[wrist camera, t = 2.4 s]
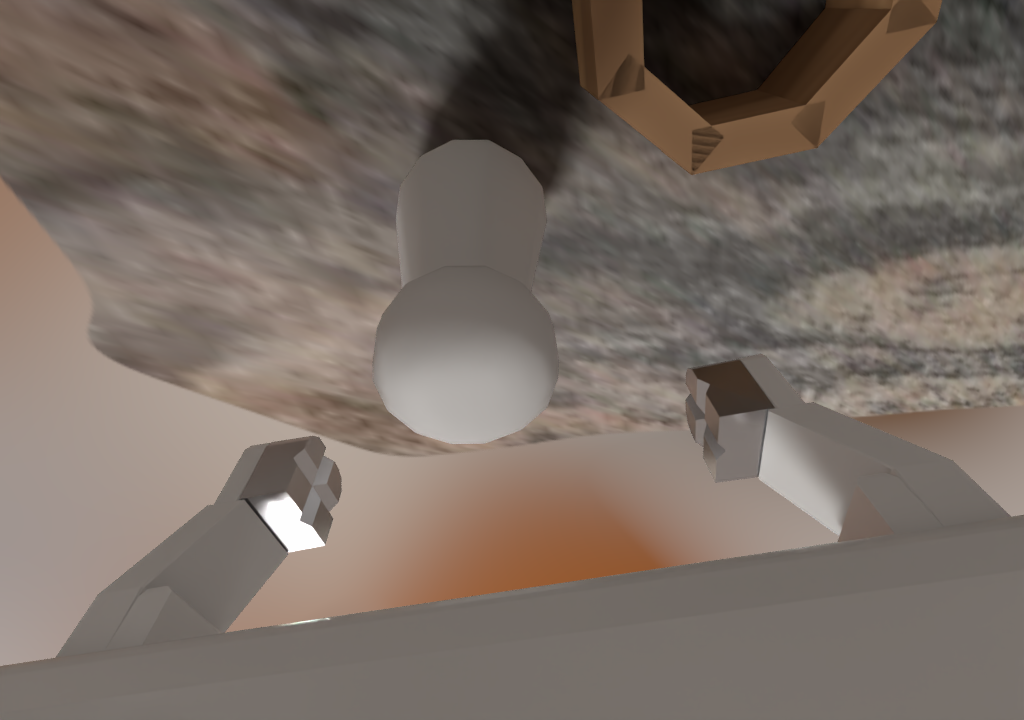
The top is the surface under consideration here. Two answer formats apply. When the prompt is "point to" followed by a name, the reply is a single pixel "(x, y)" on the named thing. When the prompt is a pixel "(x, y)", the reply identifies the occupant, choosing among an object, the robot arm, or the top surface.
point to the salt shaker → (467, 299)
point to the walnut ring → (757, 114)
